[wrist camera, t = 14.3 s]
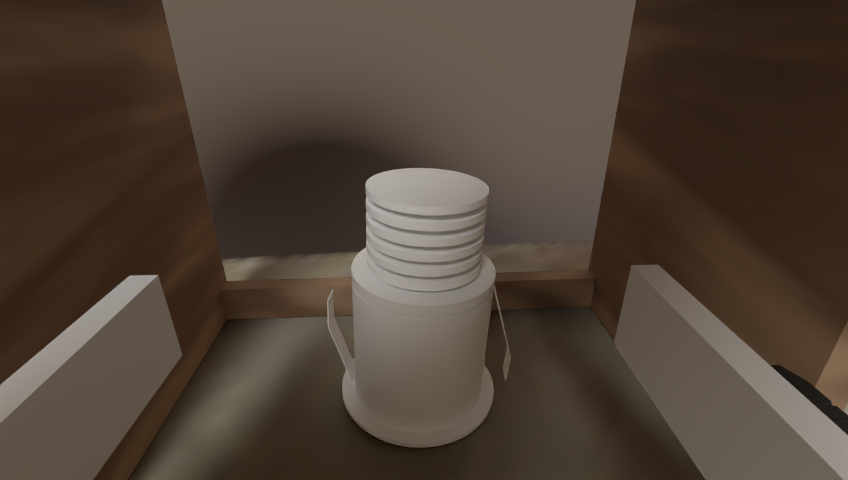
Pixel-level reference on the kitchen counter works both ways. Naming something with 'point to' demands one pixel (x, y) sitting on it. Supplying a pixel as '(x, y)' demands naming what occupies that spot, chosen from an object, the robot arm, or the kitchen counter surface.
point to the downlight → (420, 310)
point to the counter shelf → (597, 287)
